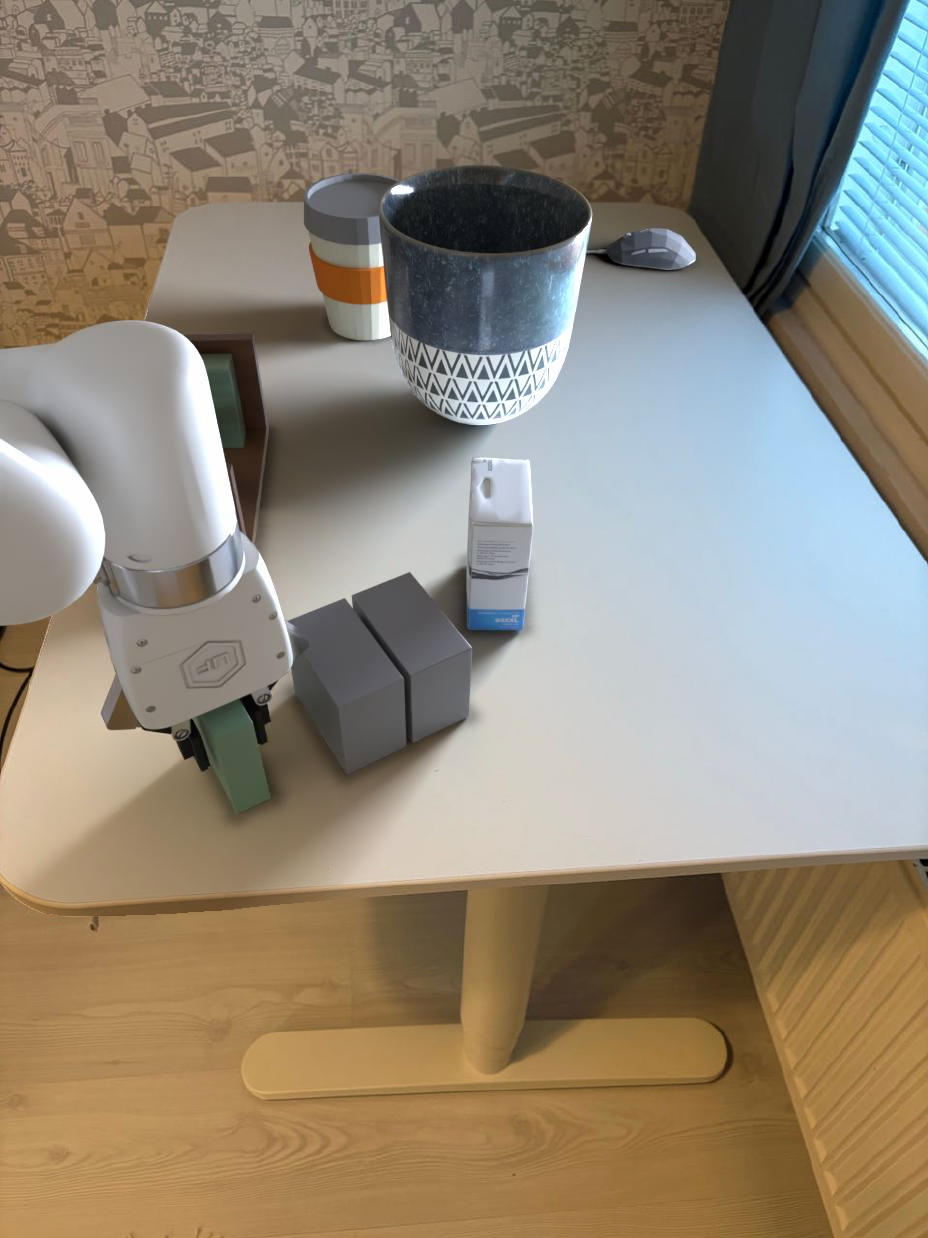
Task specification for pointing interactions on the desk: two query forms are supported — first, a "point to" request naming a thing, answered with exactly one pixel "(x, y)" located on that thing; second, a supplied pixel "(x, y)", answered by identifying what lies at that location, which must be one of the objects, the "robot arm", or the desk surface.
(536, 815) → the desk surface
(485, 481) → the ink box
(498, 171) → the planter
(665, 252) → the gaming mouse
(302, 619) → the grey blocks
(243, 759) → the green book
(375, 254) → the reusable coffee cup
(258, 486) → the book rack
